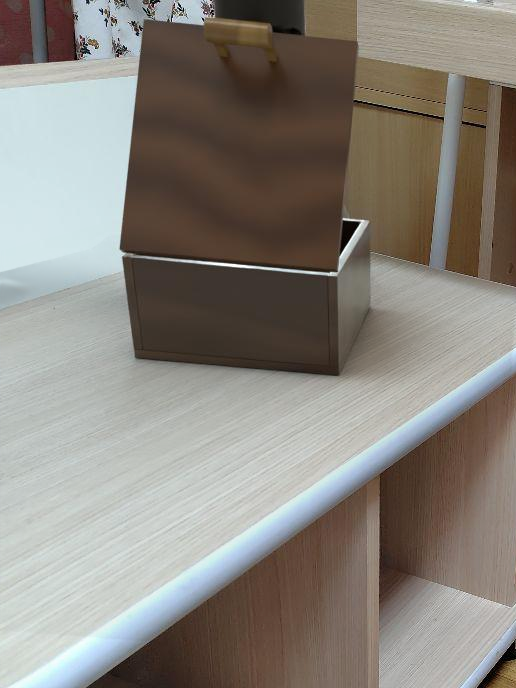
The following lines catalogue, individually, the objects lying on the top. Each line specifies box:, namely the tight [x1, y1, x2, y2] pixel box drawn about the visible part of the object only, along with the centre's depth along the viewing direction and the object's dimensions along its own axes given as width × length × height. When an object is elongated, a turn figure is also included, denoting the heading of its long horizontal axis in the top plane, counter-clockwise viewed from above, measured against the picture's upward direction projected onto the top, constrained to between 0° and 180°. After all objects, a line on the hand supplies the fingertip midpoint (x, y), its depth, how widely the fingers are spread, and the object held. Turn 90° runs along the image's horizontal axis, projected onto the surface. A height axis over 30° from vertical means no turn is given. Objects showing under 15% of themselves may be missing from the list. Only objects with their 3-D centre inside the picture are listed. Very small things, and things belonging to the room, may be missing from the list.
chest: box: [121, 218, 371, 376], centre depth 91 cm, size 19×18×9 cm
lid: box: [118, 16, 360, 273], centre depth 80 cm, size 20×18×5 cm
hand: (268, 174), depth 91 cm, fingers closed on block, 5 cm apart
